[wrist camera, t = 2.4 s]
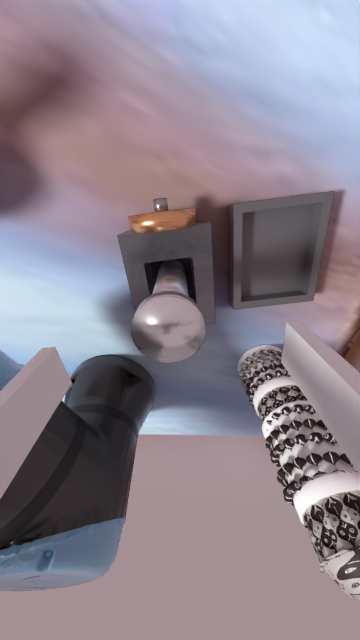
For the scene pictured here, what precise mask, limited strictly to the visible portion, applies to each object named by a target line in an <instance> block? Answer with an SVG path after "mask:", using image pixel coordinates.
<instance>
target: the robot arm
mask: <svg viewBox="0 0 360 640" xmlns="http://www.w3.org/2000/svg"><path fill="white" fill-rule="evenodd" d="M281 363H282V364H283V365H284V367H285V368H286V370H287V371H288V373H289V374H290V375H291V377H292V378H293V380H294V381H295V383H296V384H297V386H298V387H299V388H300V390H301V391H302V393H303V394H304V396H305V397H306V398H307V400H308V401H309V403H310V404H311V406H312V407H313V408H314V410H315V411H316V413H317V414H318V416H319V417H320V418H321V420H322V421H323V423H324V424H325V426H326V427H327V428H328V430H329V431H330V433H331V434H332V436H333V437H334V439H335V440H336V441H337V443H338V444H339V446H340V447H341V449H342V450H343V451H344V453H345V454H346V456H347V457H348V459H349V460H350V461H351V463H352V464H353V466H354V467H355V469H356V470H357V471H358V473H359V474H360V371H357V370H356V369H355V368H354V367H353V366H351V365H350V364H349V363H348V362H347V361H346V360H345V359H344V358H342V357H341V356H340V355H339V354H338V353H337V352H336V351H334V350H333V349H332V348H331V347H330V346H329V345H328V344H326V343H325V342H324V341H323V340H322V339H321V338H320V337H318V336H317V335H316V334H315V333H314V332H313V331H312V330H310V329H309V328H308V327H307V326H306V325H305V324H304V323H302V322H301V321H295V322H286V329H285V337H284V344H283V352H282V359H281ZM65 393H66V394H65ZM154 394H155V386H154V382H153V379H152V378H151V376H150V374H149V373H148V372H147V371H146V370H145V369H144V368H143V367H142V366H140V365H139V364H137V363H136V362H134V361H132V360H129V359H126V358H123V357H119V356H109V355H108V356H98V357H94V358H91V359H88V360H86V361H84V362H83V363H82V364H80V365H79V366H78V367H77V368H76V370H75V371H74V373H73V374H72V376H71V378H70V377H69V375H68V373H67V371H66V369H65V367H64V365H63V363H62V361H61V358H60V356H59V354H58V352H57V350H56V348H55V347H51V348H42V349H41V350H40V351H39V352H38V353H37V354H36V355H35V356H34V357H33V358H32V359H31V360H30V361H29V362H28V363H27V364H26V365H25V366H24V365H22V364H18V363H17V362H15V361H14V360H13V359H11V358H10V357H9V356H8V355H6V354H5V353H4V352H2V351H1V350H0V591H31V590H45V589H55V588H62V587H69V586H75V585H79V584H84V583H87V582H91V581H94V580H96V579H98V578H100V577H101V576H103V575H104V574H105V573H106V572H107V571H108V570H109V568H110V567H111V565H112V564H113V563H114V560H115V558H116V555H117V551H118V547H119V542H120V537H121V532H122V528H123V524H124V523H125V521H126V517H125V516H126V510H127V503H128V496H129V490H130V483H131V477H132V471H133V464H134V457H135V451H136V444H137V438H138V433H139V430H140V429H141V427H142V425H143V423H144V421H145V419H146V417H147V415H148V414H149V412H150V410H151V408H152V405H153V402H154ZM64 395H65V400H64V402H63V401H61V400H62V398H63V397H64Z"/></svg>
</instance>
